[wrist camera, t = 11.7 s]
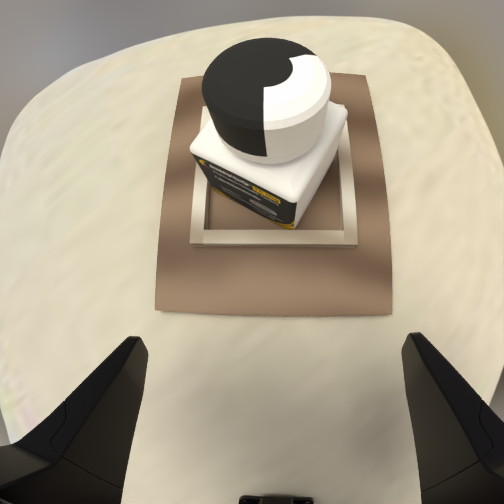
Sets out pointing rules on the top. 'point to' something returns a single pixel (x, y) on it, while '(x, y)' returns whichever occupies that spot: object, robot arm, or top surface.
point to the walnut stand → (277, 229)
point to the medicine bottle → (268, 127)
